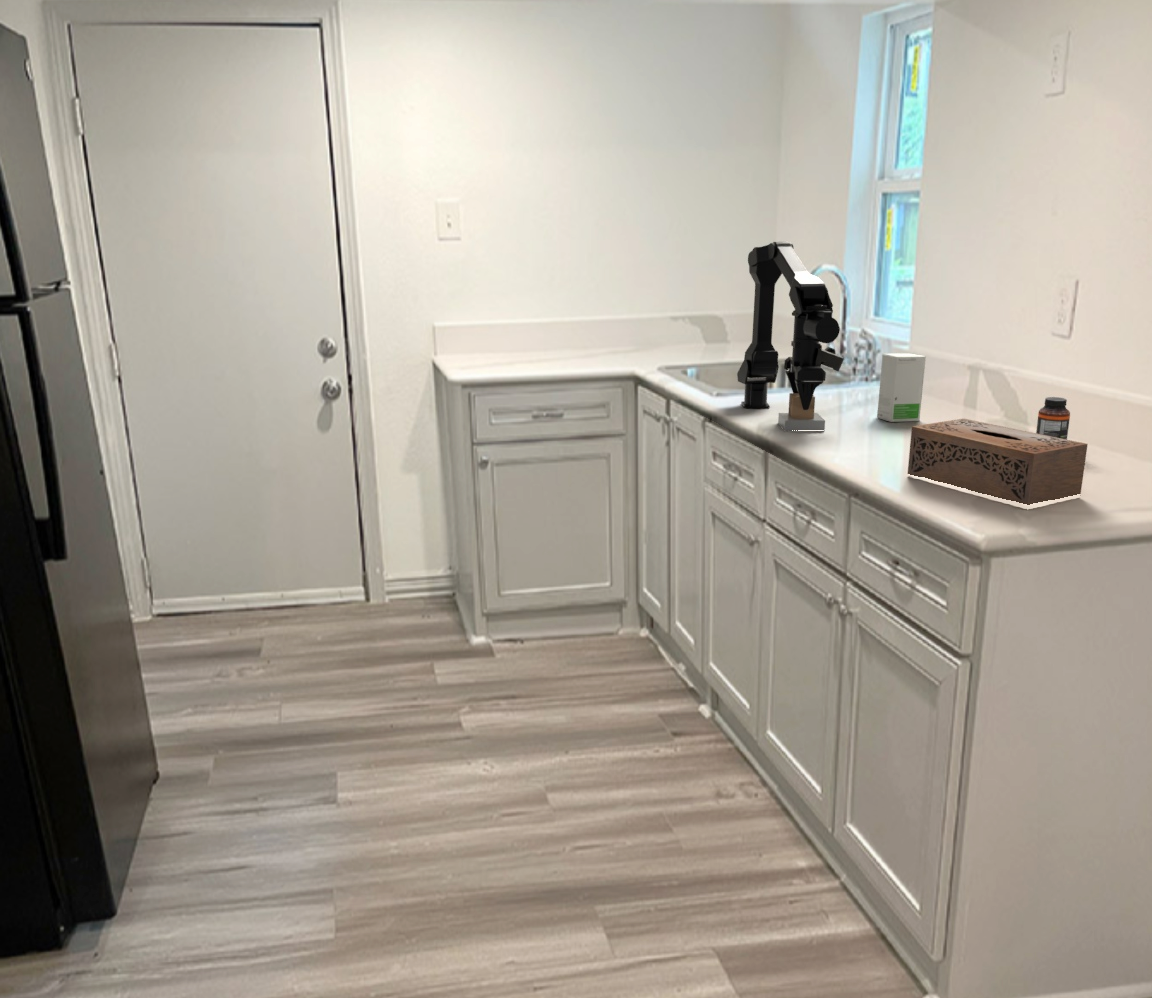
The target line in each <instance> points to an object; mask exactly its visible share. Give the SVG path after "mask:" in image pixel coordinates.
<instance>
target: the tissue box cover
mask: <svg viewBox="0 0 1152 998" xmlns="http://www.w3.org/2000/svg"><path fill="white" fill-rule="evenodd" d="M910 431H911V434H910V441H909V442H910V443H909V453H908V454H909V455H908V465H907V474H910V475H914V476H918V477H925V478H928V479H931V480H934V481H938V482H943V483H947V484H951V485H954V486H957V487H961V488H966V489H968V490H971V491H975V492H978V493H982V494H987V495H991V496H994V497H998V498H1002V499H1006V500H1011V501H1016V502H1019V503H1023V504H1027V505H1030V504H1033V503H1038V502H1043V501H1048V500H1055V499H1060V498H1064V497H1068V496H1073V495H1077V494H1082V487H1083V480H1084V474H1085V473H1084V472H1085V464H1086V459H1087V458H1086V457H1087V452H1088V443H1085V442H1080V441H1076V440H1071V439H1067V440H1066V439H1061V438H1057V437H1052V436H1047V435H1042V434H1037V433H1036V432H1032V431H1027V430H1023V429H1016V428H1012V427H1007V426H1001V425H997V424H993V423H987V422H982V421H978V420H973V419H968V418H959V419H952V420H946V421H945V420H944V421H939V422H933V423H925V424H920V425H913V426H911V430H910Z"/></svg>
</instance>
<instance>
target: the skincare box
mask: <svg viewBox="0 0 1152 998" xmlns="http://www.w3.org/2000/svg"><path fill="white" fill-rule="evenodd" d="M926 358H927V356H925V355H921V354H914V353H882V354H881V368H880V370H881V372H880V382H879V394H878V402H877V412H876V413H877V415H876V418H878V419H880V420H883V421H887V422H890V423H895V422H897V423H898V422H900V423H901V422H919V421H920V419H921V410H922V409H921V408H922V399H923V387H924V377H925V369H926Z"/></svg>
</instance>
